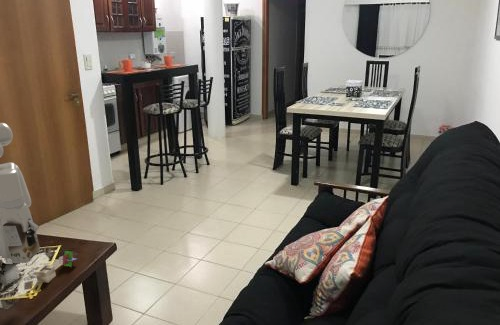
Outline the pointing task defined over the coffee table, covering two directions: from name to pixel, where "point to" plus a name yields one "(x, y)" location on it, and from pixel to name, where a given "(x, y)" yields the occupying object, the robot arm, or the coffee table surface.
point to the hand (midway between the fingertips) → (23, 243)
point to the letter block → (45, 273)
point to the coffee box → (19, 243)
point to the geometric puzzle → (67, 259)
